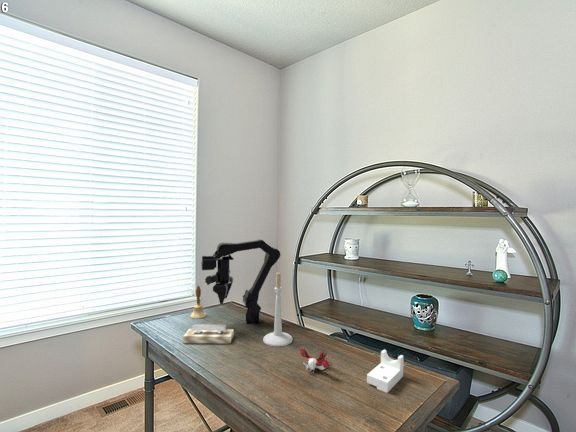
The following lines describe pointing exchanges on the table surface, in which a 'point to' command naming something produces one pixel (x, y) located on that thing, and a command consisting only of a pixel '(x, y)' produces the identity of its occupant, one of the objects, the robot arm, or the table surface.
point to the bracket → (386, 372)
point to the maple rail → (209, 336)
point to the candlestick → (278, 322)
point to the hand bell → (198, 307)
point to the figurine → (315, 360)
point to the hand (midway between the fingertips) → (223, 301)
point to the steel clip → (208, 328)
